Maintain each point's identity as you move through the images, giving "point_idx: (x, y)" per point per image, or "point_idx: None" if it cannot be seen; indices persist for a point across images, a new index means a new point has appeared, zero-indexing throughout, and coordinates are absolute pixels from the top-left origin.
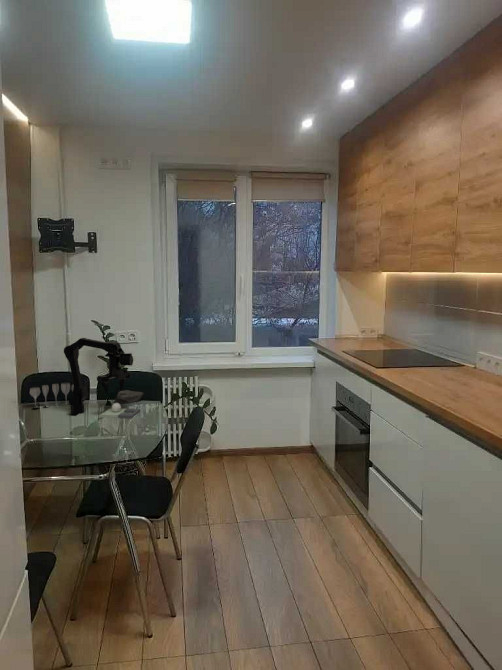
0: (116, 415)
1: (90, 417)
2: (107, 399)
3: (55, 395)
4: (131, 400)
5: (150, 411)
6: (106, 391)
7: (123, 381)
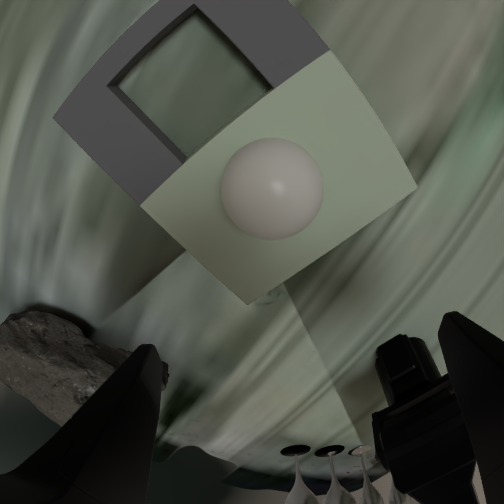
0: (337, 60)
1: (440, 229)
2: (159, 439)
3: (370, 482)
4: (59, 335)
5: (10, 81)
6: (477, 335)
7: (49, 499)
